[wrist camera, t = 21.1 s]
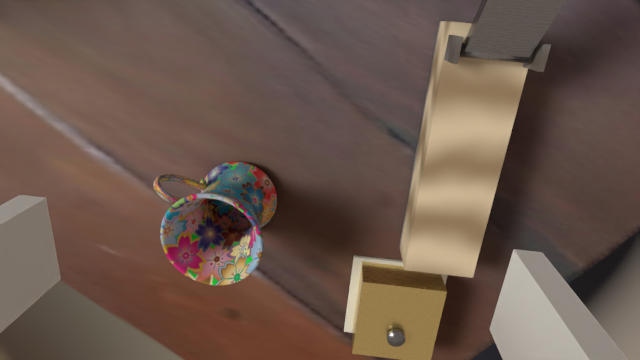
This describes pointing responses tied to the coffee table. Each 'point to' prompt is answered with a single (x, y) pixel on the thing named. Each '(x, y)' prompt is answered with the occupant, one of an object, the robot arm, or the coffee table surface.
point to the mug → (218, 223)
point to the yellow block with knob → (397, 312)
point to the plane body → (460, 153)
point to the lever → (509, 29)
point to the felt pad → (355, 283)
